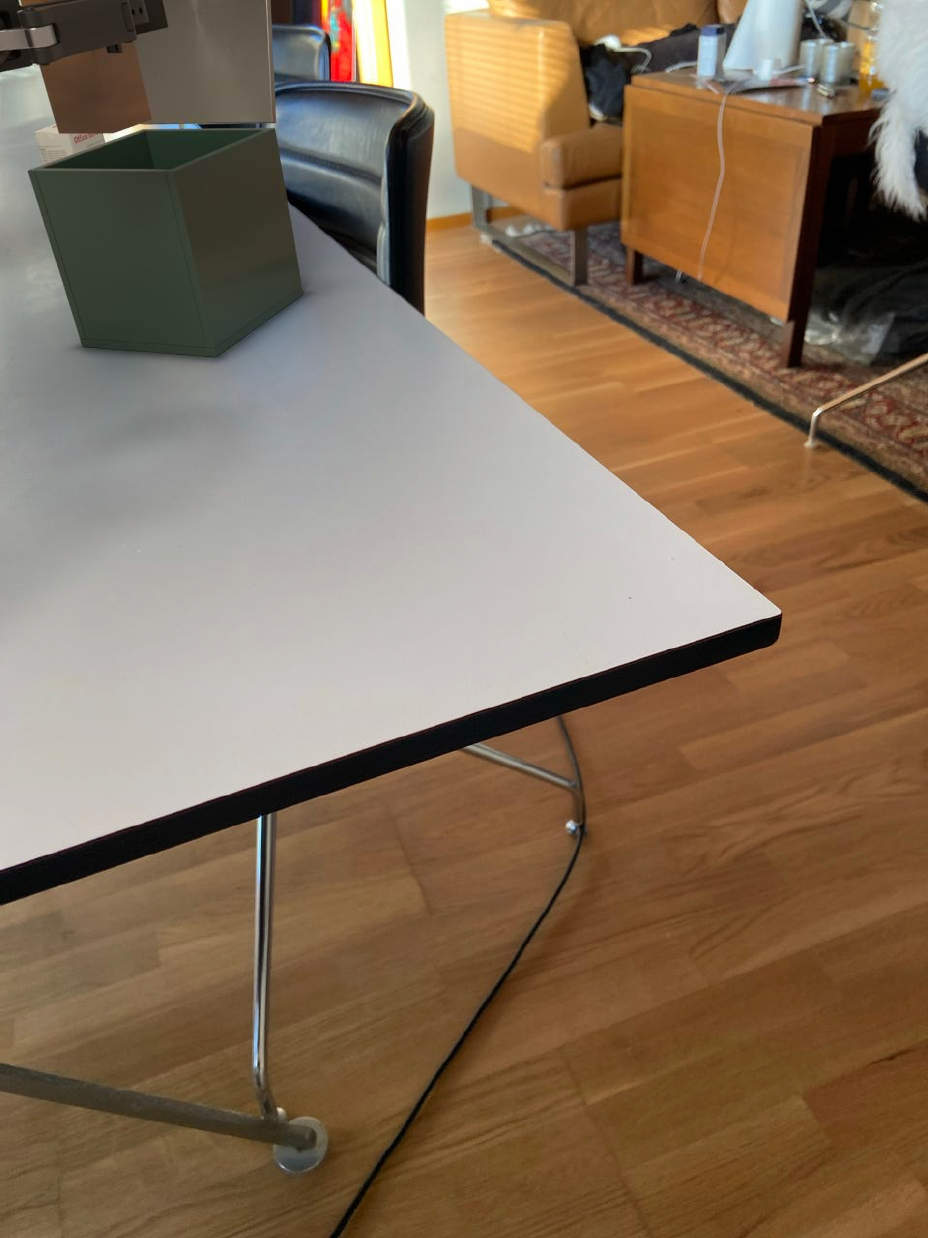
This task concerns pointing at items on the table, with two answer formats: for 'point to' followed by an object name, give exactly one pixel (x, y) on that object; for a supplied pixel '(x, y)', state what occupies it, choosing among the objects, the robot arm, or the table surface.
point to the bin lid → (210, 63)
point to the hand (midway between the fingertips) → (126, 5)
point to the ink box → (63, 143)
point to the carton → (96, 90)
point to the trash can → (171, 238)
